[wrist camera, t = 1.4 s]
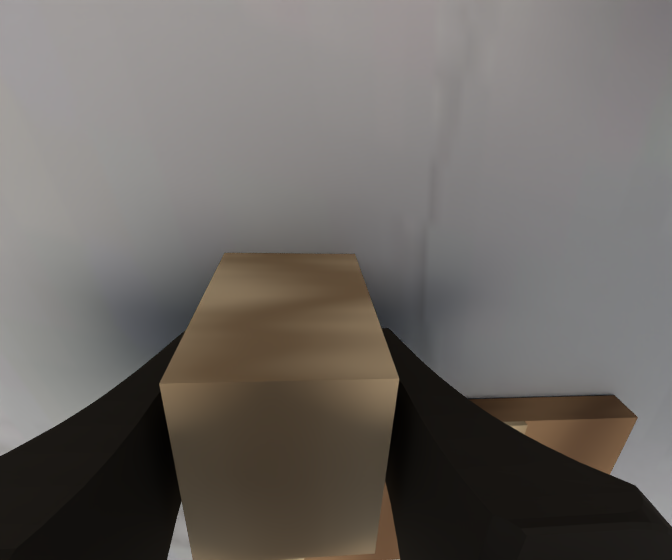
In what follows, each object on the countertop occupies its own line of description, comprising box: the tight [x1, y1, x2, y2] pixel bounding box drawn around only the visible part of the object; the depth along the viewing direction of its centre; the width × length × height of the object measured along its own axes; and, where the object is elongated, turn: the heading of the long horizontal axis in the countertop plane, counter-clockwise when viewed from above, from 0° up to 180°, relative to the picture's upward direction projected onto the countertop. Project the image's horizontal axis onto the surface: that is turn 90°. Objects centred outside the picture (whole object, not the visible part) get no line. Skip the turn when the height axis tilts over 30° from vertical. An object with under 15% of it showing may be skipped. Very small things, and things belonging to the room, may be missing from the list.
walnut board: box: [283, 395, 638, 560], centre depth 16 cm, size 16×8×1 cm, turn 88°
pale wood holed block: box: [159, 253, 399, 560], centre depth 11 cm, size 4×8×6 cm, turn 178°
